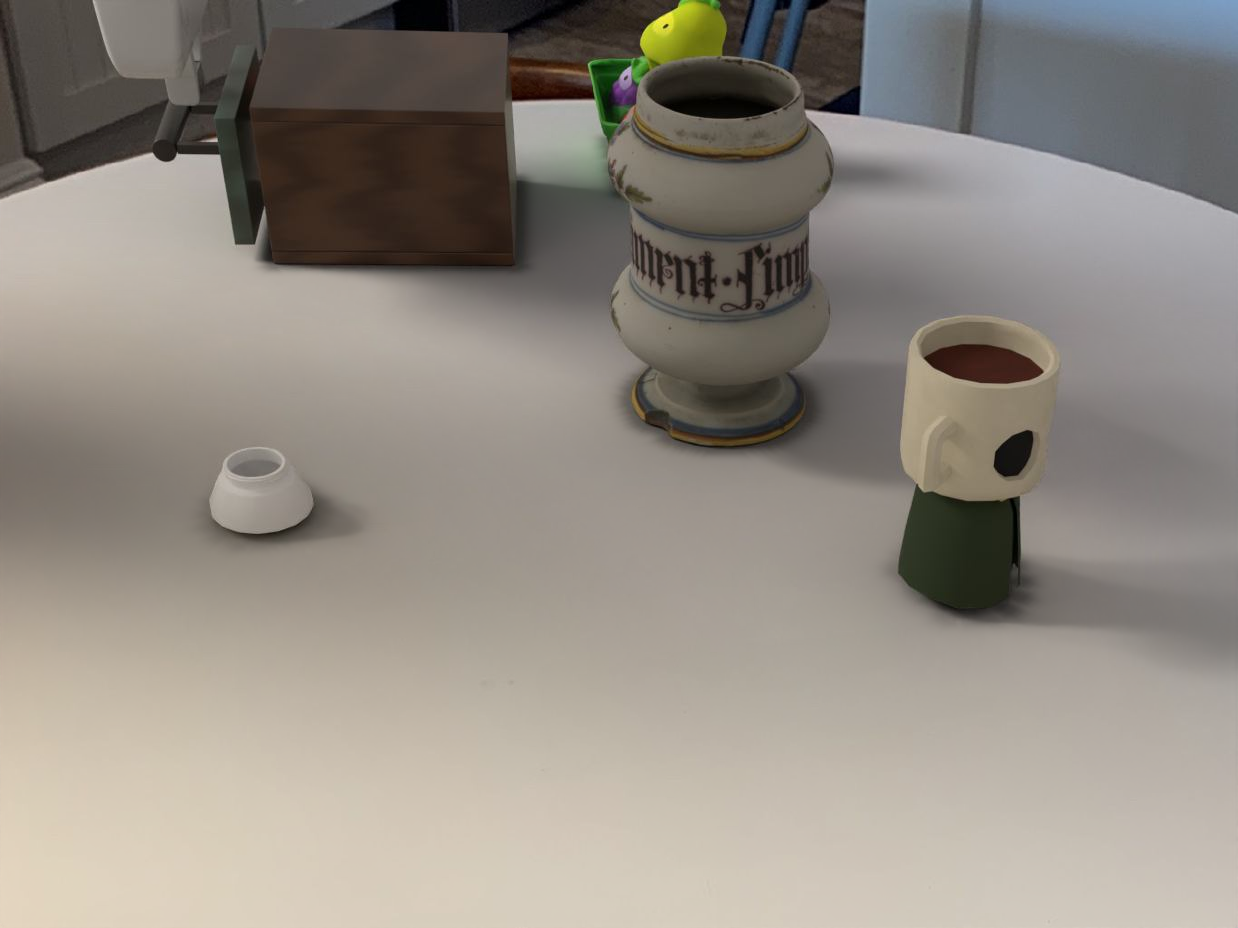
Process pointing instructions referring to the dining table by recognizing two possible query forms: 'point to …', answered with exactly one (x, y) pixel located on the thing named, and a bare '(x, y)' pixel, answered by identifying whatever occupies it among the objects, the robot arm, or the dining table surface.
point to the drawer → (225, 142)
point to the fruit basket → (656, 56)
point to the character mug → (973, 452)
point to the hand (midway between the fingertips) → (188, 96)
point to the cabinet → (386, 147)
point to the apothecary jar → (720, 247)
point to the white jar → (259, 492)
